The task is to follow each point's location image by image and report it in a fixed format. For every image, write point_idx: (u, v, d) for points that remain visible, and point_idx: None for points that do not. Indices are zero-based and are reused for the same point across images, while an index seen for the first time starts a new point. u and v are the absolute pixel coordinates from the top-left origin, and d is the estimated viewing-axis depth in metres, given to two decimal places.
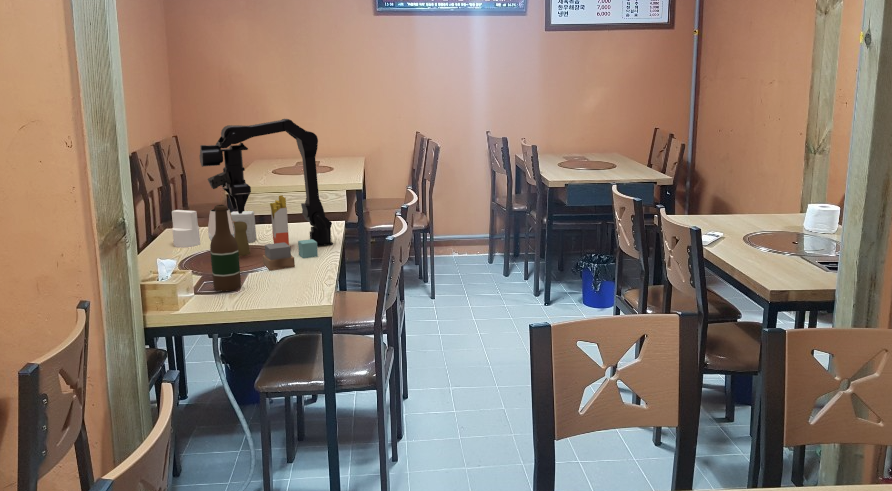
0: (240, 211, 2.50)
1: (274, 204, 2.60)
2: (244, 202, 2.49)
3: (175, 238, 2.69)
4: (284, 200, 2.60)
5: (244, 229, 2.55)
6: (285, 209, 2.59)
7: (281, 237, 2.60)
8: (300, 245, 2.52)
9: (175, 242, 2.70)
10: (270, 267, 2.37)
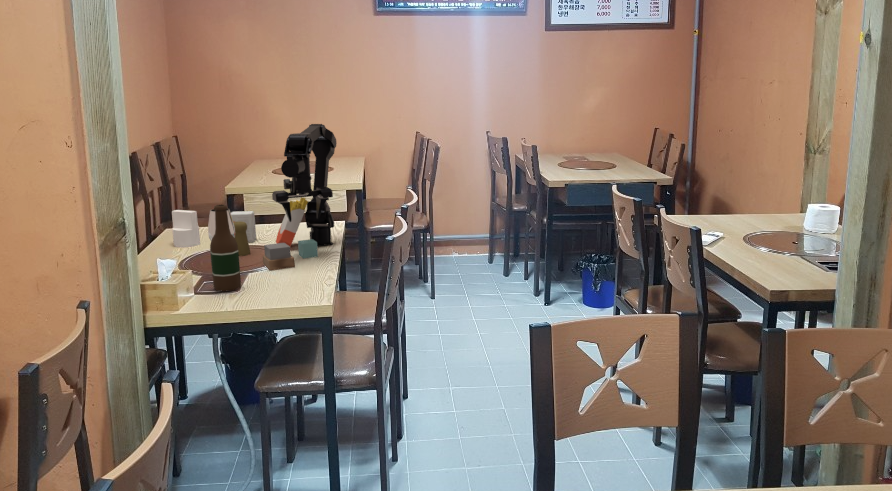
0: (289, 219, 2.50)
1: (295, 202, 2.62)
2: (286, 211, 2.47)
3: (175, 238, 2.69)
4: (305, 203, 2.62)
5: (244, 229, 2.55)
6: (303, 211, 2.60)
7: (287, 235, 2.61)
8: (300, 245, 2.52)
9: (175, 242, 2.70)
10: (270, 267, 2.37)
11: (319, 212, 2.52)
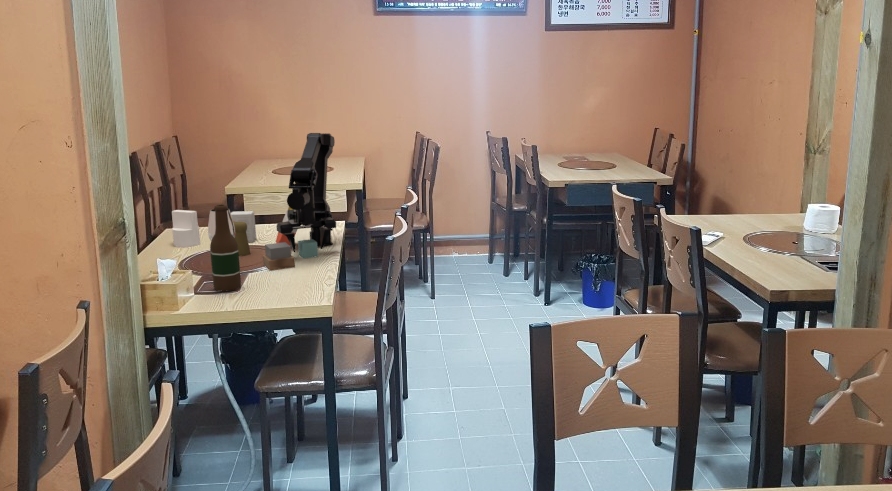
0: (293, 250, 2.52)
1: None
2: (291, 242, 2.50)
3: (175, 238, 2.69)
4: None
5: (244, 229, 2.55)
6: None
7: None
8: (300, 245, 2.52)
9: (175, 242, 2.70)
10: (270, 267, 2.37)
11: (323, 242, 2.55)
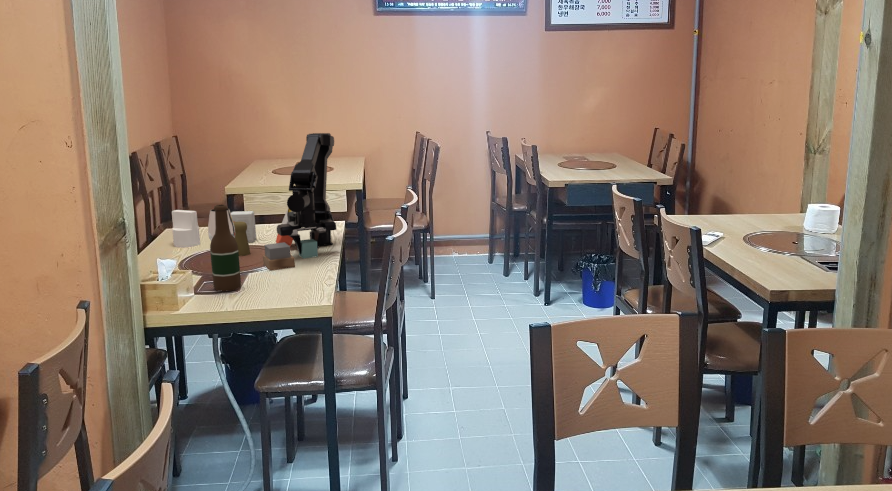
0: (298, 251, 2.53)
1: None
2: (296, 244, 2.51)
3: (175, 238, 2.69)
4: None
5: (244, 229, 2.55)
6: None
7: (287, 235, 2.61)
8: None
9: (175, 242, 2.70)
10: (270, 267, 2.37)
11: (317, 245, 2.54)
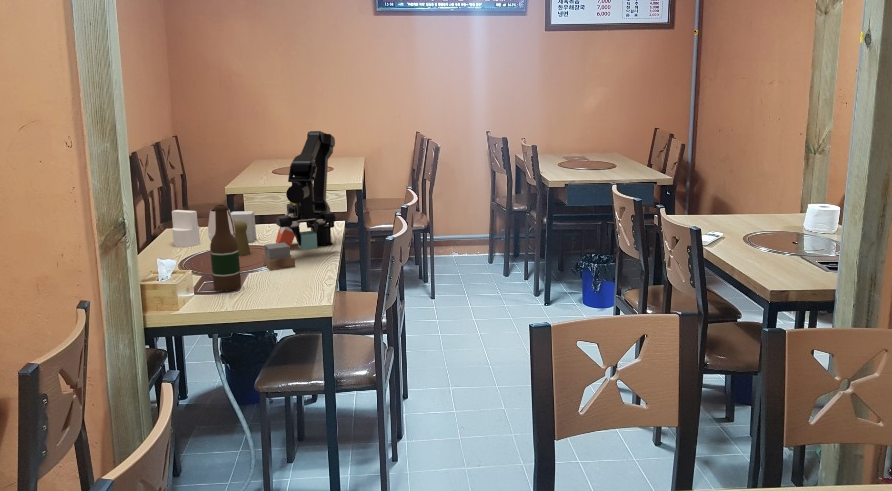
0: (298, 243, 2.52)
1: None
2: (296, 235, 2.50)
3: (175, 238, 2.69)
4: None
5: (244, 229, 2.55)
6: None
7: (287, 235, 2.61)
8: None
9: (175, 242, 2.70)
10: (271, 267, 2.37)
11: (317, 237, 2.53)
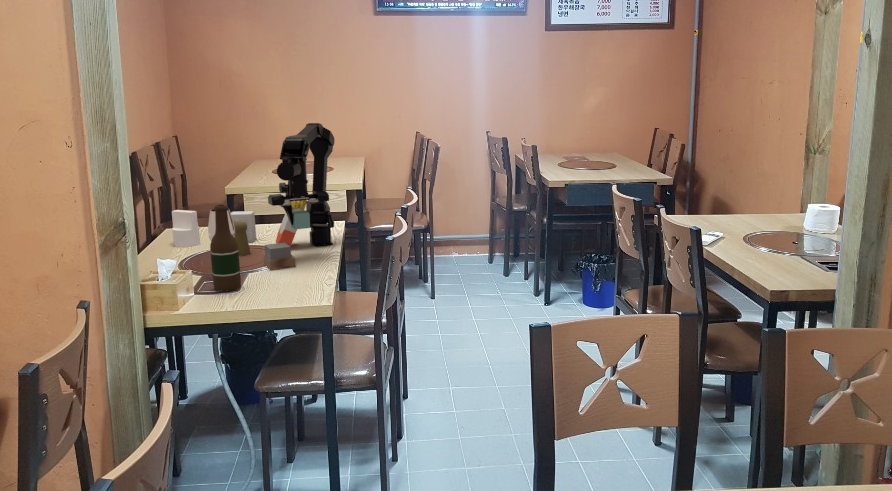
0: (290, 222, 2.48)
1: (294, 202, 2.62)
2: (288, 214, 2.45)
3: (175, 238, 2.69)
4: (305, 202, 2.62)
5: (244, 229, 2.55)
6: None
7: (287, 235, 2.61)
8: None
9: (175, 242, 2.70)
10: (271, 267, 2.37)
11: None
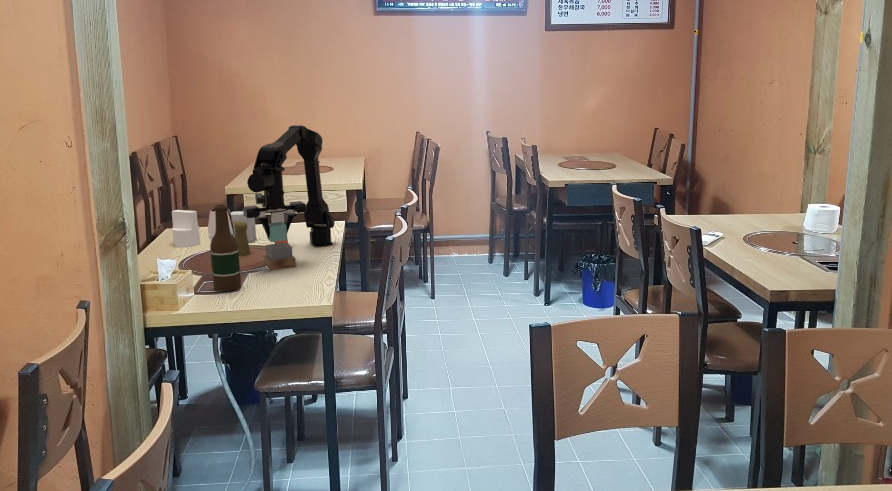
0: (267, 235, 2.39)
1: None
2: (264, 227, 2.36)
3: (175, 238, 2.69)
4: None
5: (244, 229, 2.55)
6: None
7: None
8: None
9: (175, 242, 2.70)
10: (271, 267, 2.37)
11: (287, 229, 2.40)
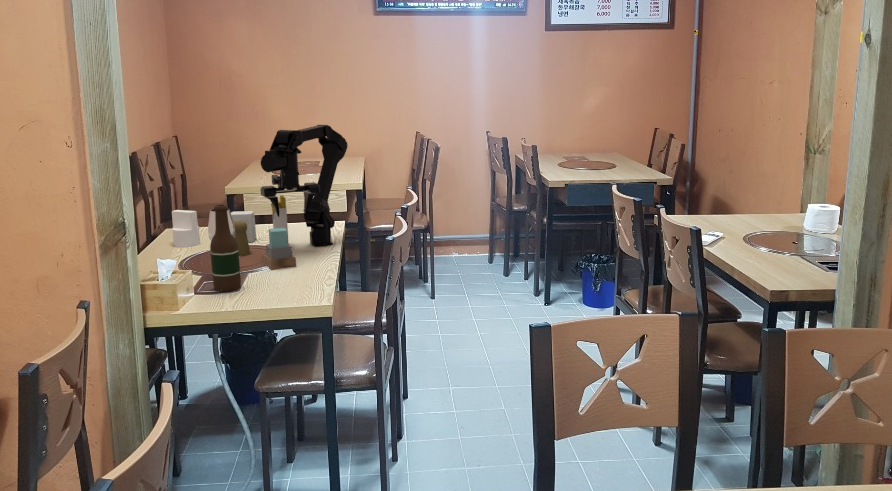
0: (277, 214, 2.53)
1: None
2: (274, 206, 2.51)
3: (175, 238, 2.69)
4: (284, 200, 2.60)
5: (244, 229, 2.55)
6: (285, 209, 2.59)
7: None
8: (270, 233, 2.39)
9: (175, 242, 2.70)
10: (272, 266, 2.38)
11: (307, 207, 2.56)
